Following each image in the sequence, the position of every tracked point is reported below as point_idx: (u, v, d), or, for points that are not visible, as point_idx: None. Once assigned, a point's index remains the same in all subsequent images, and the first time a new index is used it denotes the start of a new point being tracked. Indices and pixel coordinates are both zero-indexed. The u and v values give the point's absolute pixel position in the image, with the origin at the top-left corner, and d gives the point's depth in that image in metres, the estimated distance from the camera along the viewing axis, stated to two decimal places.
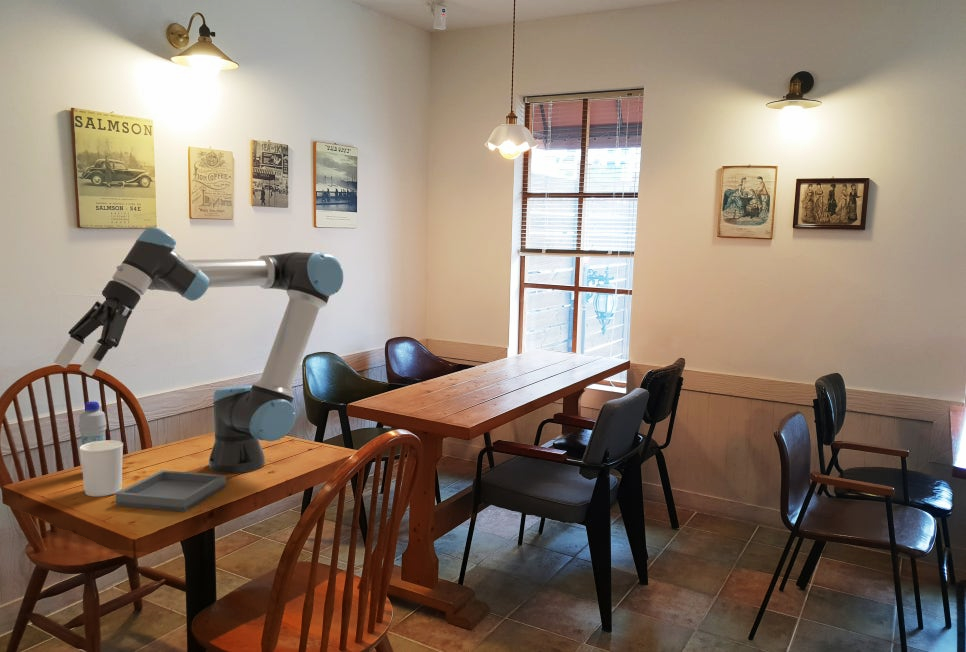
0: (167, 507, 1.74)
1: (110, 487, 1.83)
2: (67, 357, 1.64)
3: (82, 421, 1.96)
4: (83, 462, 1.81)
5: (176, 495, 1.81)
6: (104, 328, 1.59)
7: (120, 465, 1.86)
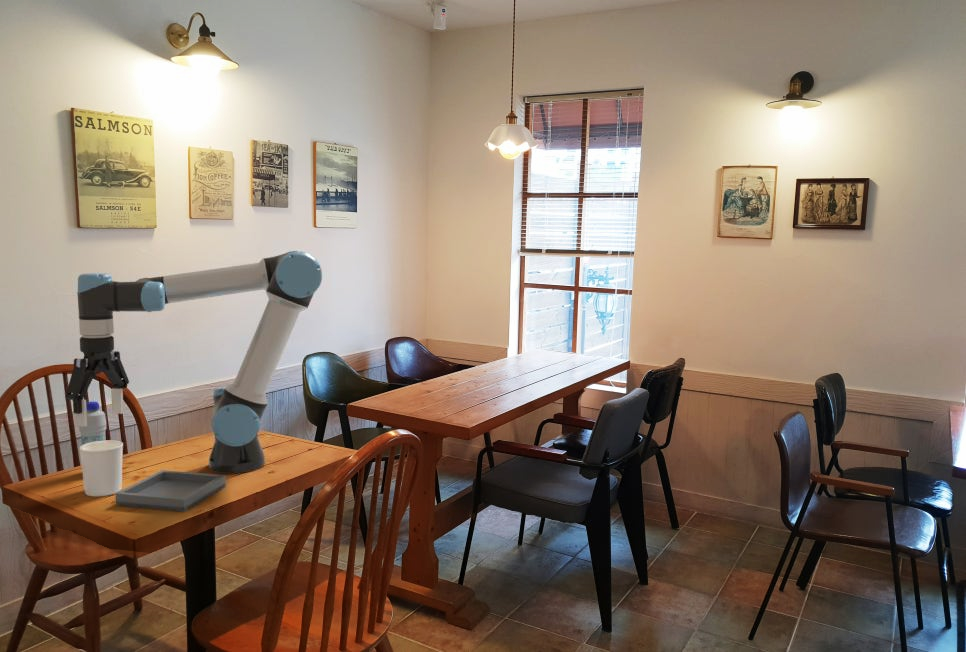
0: (167, 507, 1.74)
1: (110, 487, 1.83)
2: (117, 405, 1.89)
3: None
4: (83, 462, 1.81)
5: (176, 495, 1.81)
6: None
7: (120, 465, 1.86)
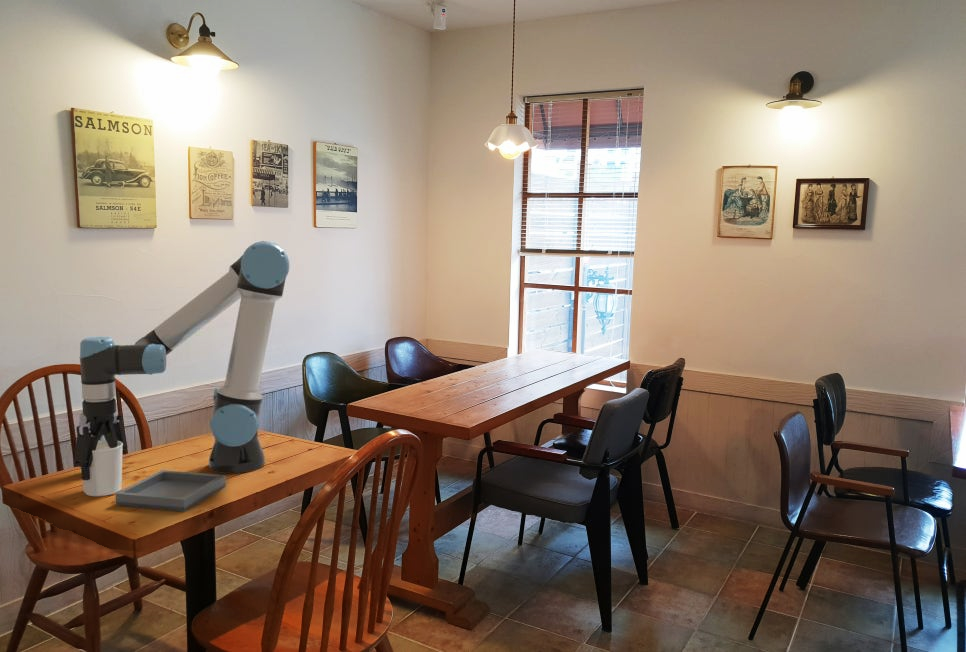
0: (167, 507, 1.74)
1: (110, 487, 1.83)
2: None
3: (82, 421, 1.96)
4: None
5: (176, 495, 1.81)
6: None
7: (120, 465, 1.86)
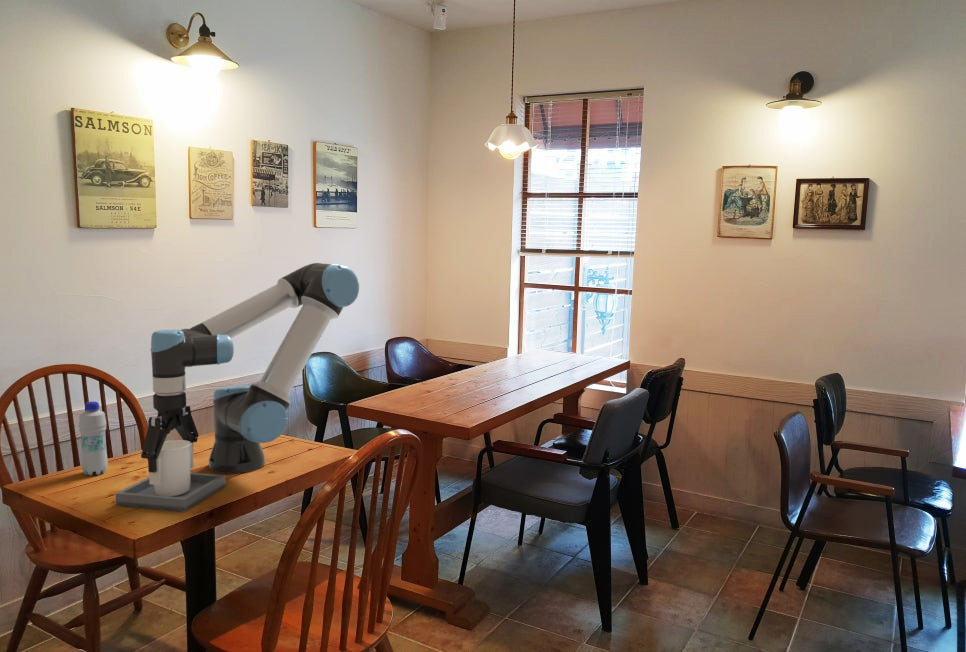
0: (167, 507, 1.74)
1: (180, 487, 1.81)
2: None
3: (82, 421, 1.96)
4: None
5: None
6: None
7: (189, 464, 1.83)
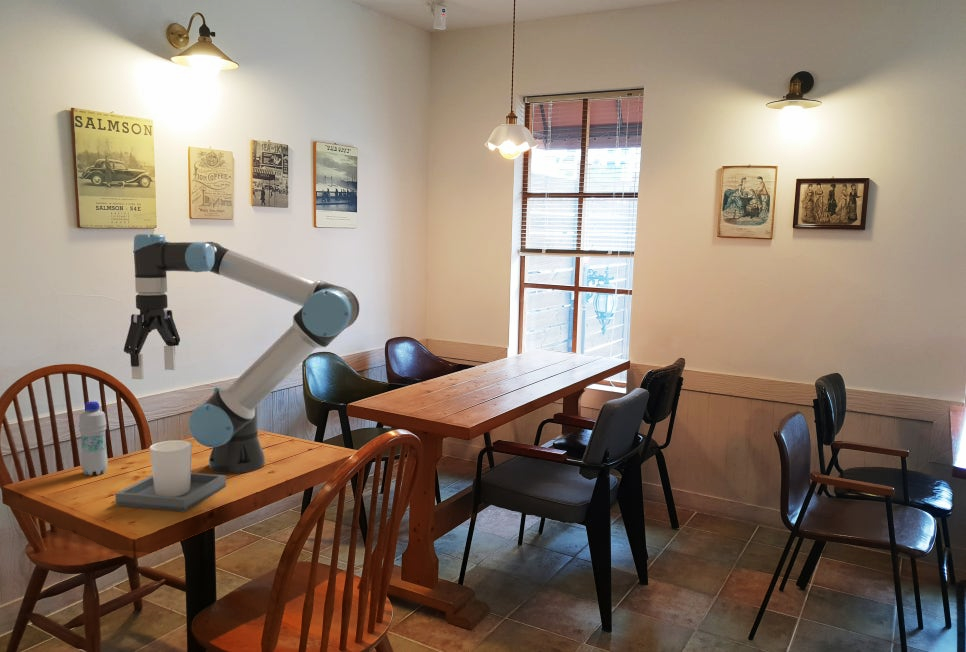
0: (167, 507, 1.74)
1: (180, 488, 1.81)
2: (170, 361, 1.98)
3: (82, 421, 1.96)
4: (154, 462, 1.79)
5: None
6: None
7: (190, 465, 1.83)
